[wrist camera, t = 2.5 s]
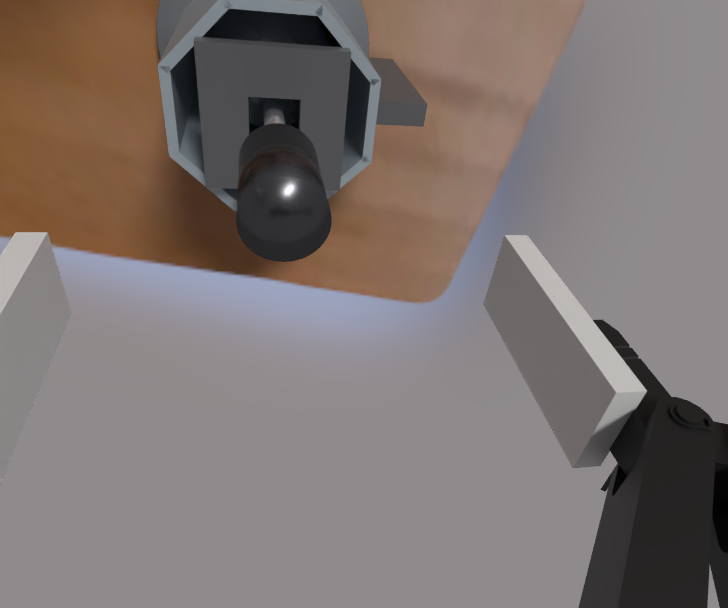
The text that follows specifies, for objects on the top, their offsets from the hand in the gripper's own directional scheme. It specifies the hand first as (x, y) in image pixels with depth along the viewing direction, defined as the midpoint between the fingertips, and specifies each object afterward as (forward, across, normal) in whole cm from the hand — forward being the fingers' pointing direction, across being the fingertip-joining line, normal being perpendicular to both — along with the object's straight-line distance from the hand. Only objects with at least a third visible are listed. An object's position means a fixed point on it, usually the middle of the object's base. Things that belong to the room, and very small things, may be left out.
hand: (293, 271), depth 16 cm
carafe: (+26, +1, 0) cm, 26 cm away
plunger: (+23, 0, 0) cm, 23 cm away
